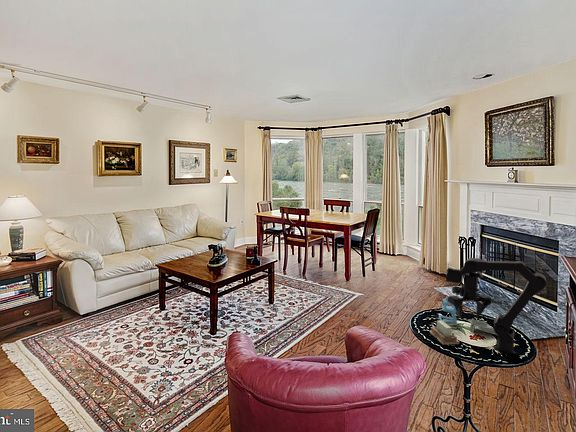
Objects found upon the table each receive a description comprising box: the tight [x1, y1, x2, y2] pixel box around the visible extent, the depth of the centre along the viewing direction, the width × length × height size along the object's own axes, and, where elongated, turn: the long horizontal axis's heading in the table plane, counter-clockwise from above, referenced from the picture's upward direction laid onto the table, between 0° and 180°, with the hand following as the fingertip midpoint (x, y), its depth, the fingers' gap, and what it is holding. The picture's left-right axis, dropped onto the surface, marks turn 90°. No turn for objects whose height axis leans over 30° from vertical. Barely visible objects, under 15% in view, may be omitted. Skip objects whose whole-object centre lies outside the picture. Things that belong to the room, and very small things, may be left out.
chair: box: [438, 297, 458, 324], centre depth 185 cm, size 8×8×12 cm
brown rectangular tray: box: [429, 326, 460, 345], centre depth 166 cm, size 12×8×4 cm, turn 6°
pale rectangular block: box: [436, 319, 452, 337], centre depth 166 cm, size 8×3×6 cm, turn 6°
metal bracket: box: [467, 318, 498, 337], centre depth 174 cm, size 14×6×15 cm
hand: (468, 317), depth 162 cm, fingers open, 9 cm apart
